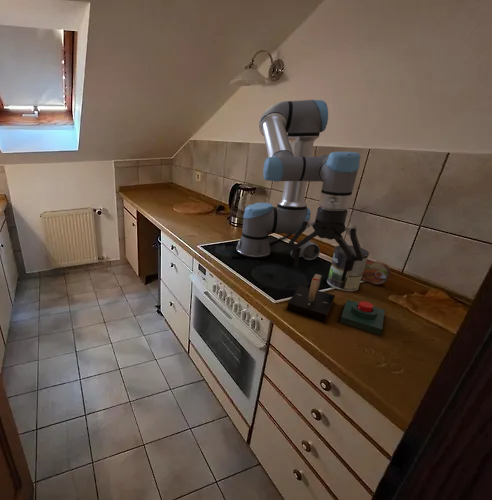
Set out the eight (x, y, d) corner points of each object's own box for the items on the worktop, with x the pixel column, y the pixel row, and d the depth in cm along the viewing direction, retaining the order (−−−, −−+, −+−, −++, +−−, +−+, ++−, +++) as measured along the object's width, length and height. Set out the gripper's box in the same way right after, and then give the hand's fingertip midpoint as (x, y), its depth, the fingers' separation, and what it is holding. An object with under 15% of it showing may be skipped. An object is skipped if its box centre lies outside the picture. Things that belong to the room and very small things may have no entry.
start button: (358, 304, 94) (359, 299, 93) (372, 308, 91) (373, 303, 91) (356, 309, 91) (358, 305, 90) (371, 314, 89) (372, 309, 88)
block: (345, 305, 100) (348, 294, 98) (382, 315, 94) (386, 305, 92) (339, 322, 91) (342, 311, 90) (380, 335, 86) (384, 324, 84)
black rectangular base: (298, 292, 108) (299, 285, 107) (333, 302, 101) (335, 294, 100) (286, 310, 98) (288, 302, 97) (324, 323, 91) (326, 314, 90)
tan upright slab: (310, 294, 101) (315, 273, 98) (316, 296, 100) (321, 274, 96) (307, 301, 97) (312, 279, 94) (313, 303, 96) (318, 280, 93)
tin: (343, 271, 121) (348, 252, 118) (348, 270, 123) (353, 251, 119) (383, 288, 109) (390, 267, 105) (388, 286, 110) (395, 266, 107)
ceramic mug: (309, 252, 140) (311, 237, 137) (318, 260, 132) (321, 243, 129) (286, 253, 140) (288, 238, 137) (294, 261, 132) (297, 245, 129)
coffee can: (327, 287, 110) (335, 253, 105) (326, 276, 119) (334, 243, 113) (360, 294, 106) (371, 258, 100) (357, 281, 114) (367, 247, 109)
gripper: (283, 204, 91) (273, 267, 99) (386, 217, 76) (364, 289, 84) (290, 200, 96) (280, 259, 105) (387, 211, 82) (367, 279, 90)
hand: (318, 273), depth 95 cm, fingers open, 13 cm apart
